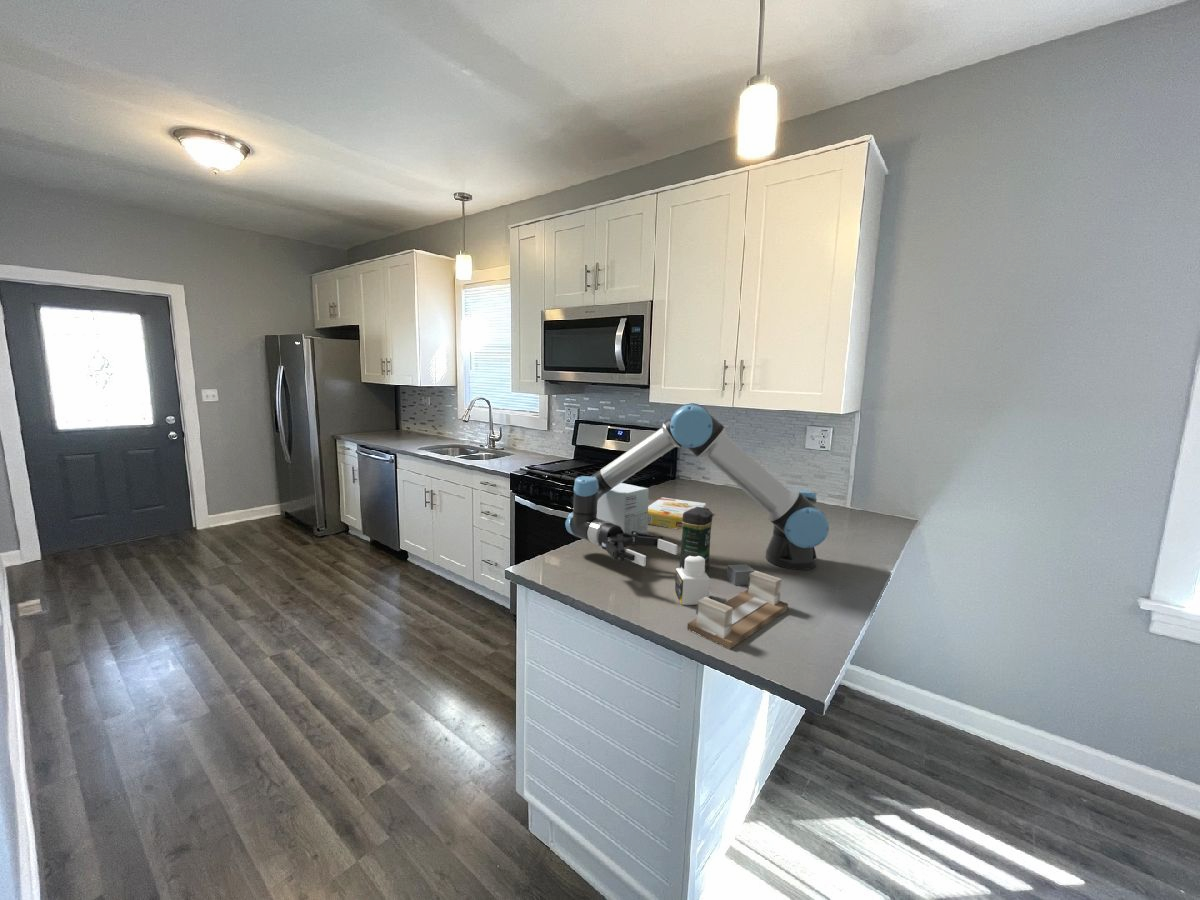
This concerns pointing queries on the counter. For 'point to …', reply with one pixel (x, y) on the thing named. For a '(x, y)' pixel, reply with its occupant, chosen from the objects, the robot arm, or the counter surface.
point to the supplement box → (625, 507)
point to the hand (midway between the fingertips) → (661, 555)
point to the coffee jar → (696, 532)
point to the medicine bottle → (691, 579)
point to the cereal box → (670, 512)
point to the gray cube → (739, 573)
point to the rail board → (740, 611)
